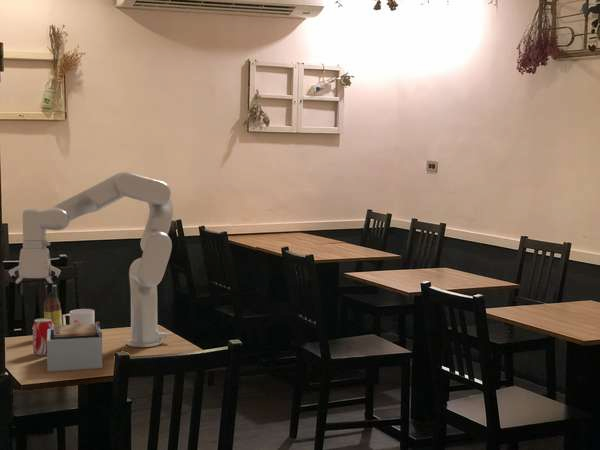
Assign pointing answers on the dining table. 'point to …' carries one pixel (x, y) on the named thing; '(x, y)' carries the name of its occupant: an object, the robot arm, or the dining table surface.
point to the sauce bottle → (53, 307)
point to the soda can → (41, 335)
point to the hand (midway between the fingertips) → (35, 294)
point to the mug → (80, 317)
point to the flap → (74, 330)
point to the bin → (74, 351)
